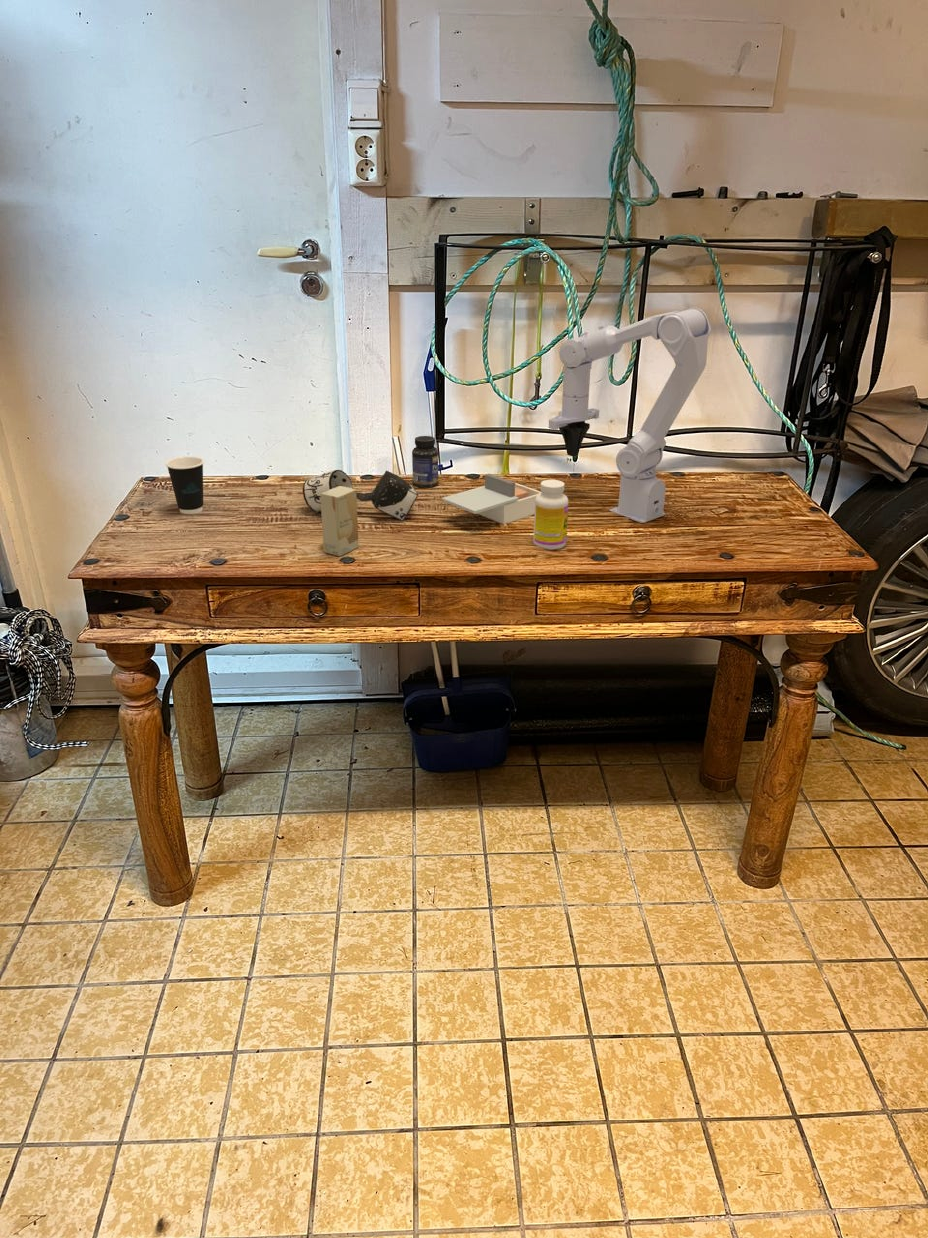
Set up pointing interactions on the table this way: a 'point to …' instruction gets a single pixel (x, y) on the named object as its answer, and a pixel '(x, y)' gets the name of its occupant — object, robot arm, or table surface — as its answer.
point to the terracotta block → (520, 493)
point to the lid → (485, 495)
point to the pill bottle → (425, 462)
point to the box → (514, 508)
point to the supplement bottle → (551, 516)
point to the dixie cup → (187, 483)
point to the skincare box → (339, 520)
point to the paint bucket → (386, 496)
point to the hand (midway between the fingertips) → (572, 455)
